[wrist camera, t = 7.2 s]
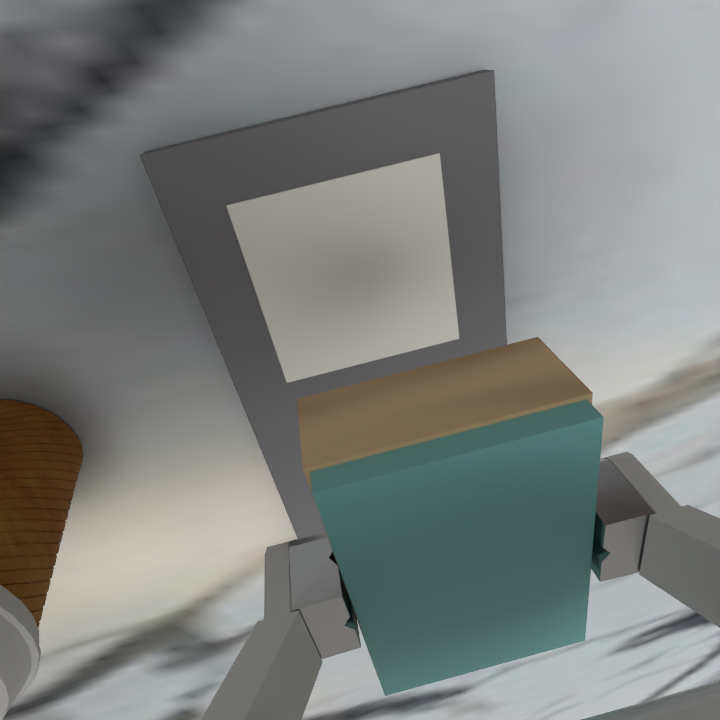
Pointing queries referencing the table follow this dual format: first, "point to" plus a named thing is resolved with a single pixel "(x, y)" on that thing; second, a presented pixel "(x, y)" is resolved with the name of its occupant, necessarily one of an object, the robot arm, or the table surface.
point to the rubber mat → (341, 250)
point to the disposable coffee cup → (30, 531)
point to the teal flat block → (459, 508)
